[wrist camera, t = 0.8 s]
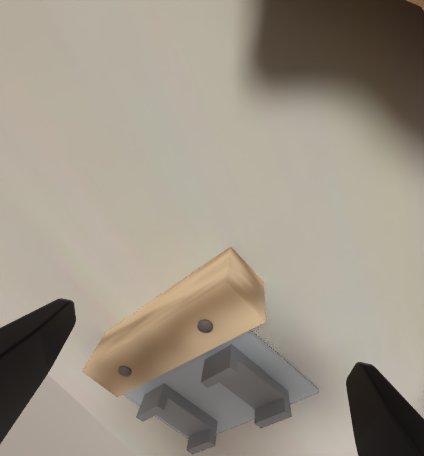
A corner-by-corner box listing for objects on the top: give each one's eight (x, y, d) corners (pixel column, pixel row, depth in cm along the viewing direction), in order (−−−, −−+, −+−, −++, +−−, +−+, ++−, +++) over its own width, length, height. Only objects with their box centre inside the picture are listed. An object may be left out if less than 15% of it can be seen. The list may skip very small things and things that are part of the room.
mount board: (318, 388, 28) (325, 418, 26) (195, 439, 36) (190, 466, 34) (236, 318, 26) (234, 343, 23) (121, 390, 33) (110, 415, 31)
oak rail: (263, 279, 23) (266, 324, 19) (136, 353, 30) (116, 399, 26) (231, 245, 22) (226, 282, 18) (107, 329, 29) (80, 373, 25)
